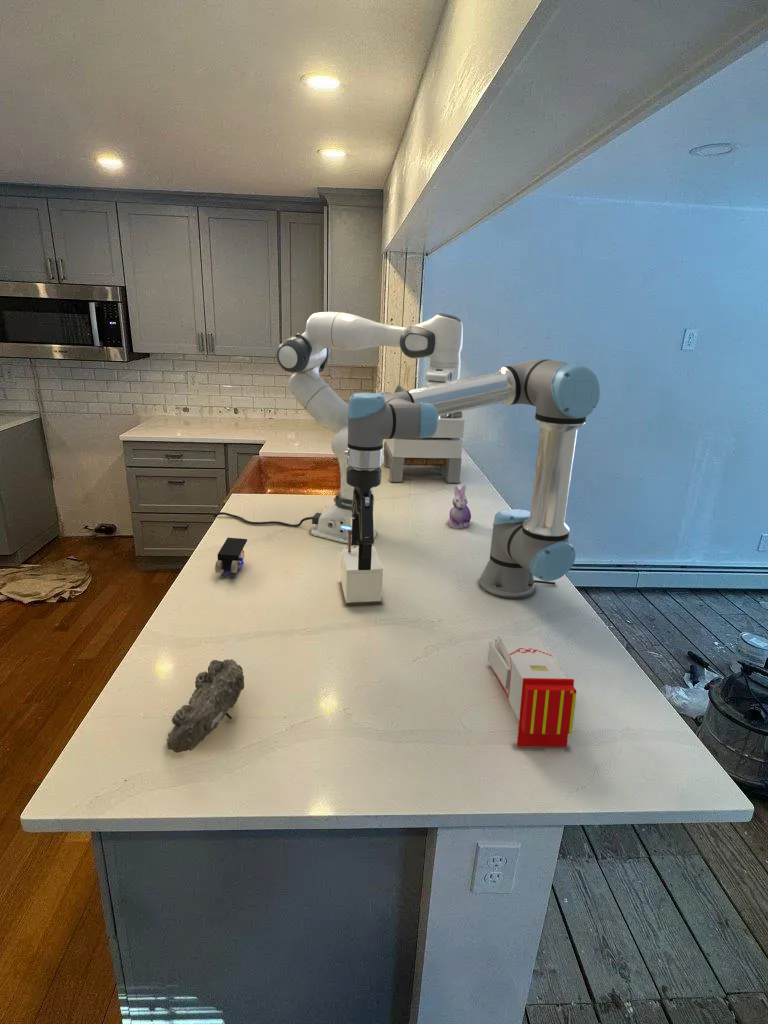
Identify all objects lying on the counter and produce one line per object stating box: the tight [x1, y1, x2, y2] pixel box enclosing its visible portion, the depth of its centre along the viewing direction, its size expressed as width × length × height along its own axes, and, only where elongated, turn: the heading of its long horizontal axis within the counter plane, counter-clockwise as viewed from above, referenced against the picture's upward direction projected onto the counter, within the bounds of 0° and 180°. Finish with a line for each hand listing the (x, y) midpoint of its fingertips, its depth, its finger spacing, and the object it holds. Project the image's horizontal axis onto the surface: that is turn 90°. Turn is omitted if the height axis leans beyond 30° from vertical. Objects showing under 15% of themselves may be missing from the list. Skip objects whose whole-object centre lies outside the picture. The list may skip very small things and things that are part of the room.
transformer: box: [382, 384, 465, 484], centre depth 268 cm, size 34×33×41 cm
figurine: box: [448, 484, 472, 529], centre depth 208 cm, size 9×10×15 cm
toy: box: [486, 635, 577, 748], centre depth 115 cm, size 12×13×30 cm
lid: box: [340, 529, 384, 574], centre depth 153 cm, size 14×10×8 cm, turn 10°
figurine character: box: [214, 537, 248, 578], centre depth 166 cm, size 7×8×15 cm
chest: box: [340, 552, 384, 607], centre depth 156 cm, size 13×10×9 cm
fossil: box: [166, 658, 245, 754], centre depth 106 cm, size 22×10×15 cm
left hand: (440, 419), depth 171 cm, fingers open, 8 cm apart
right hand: (360, 556), depth 129 cm, fingers open, 13 cm apart
